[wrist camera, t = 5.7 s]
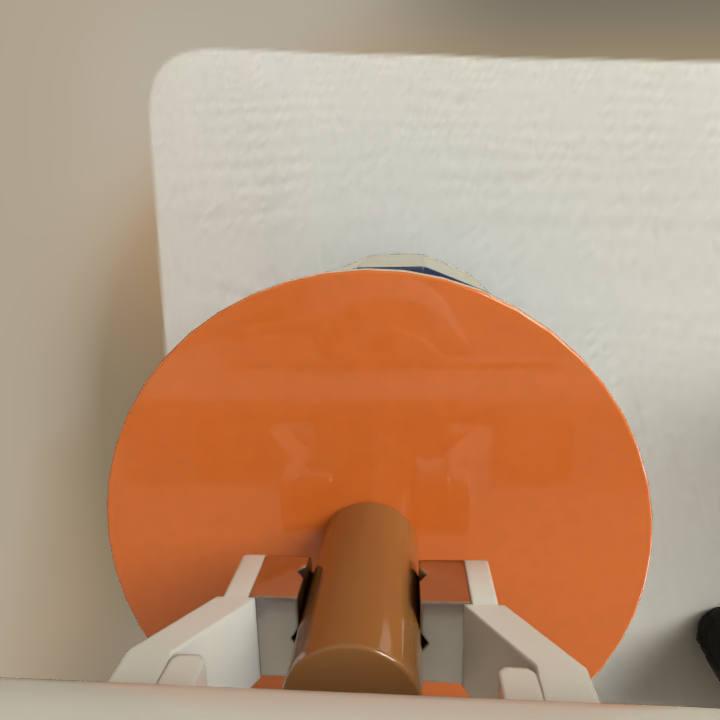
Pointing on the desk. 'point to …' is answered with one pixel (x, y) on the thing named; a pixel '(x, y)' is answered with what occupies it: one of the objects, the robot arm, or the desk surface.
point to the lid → (381, 472)
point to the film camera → (711, 639)
